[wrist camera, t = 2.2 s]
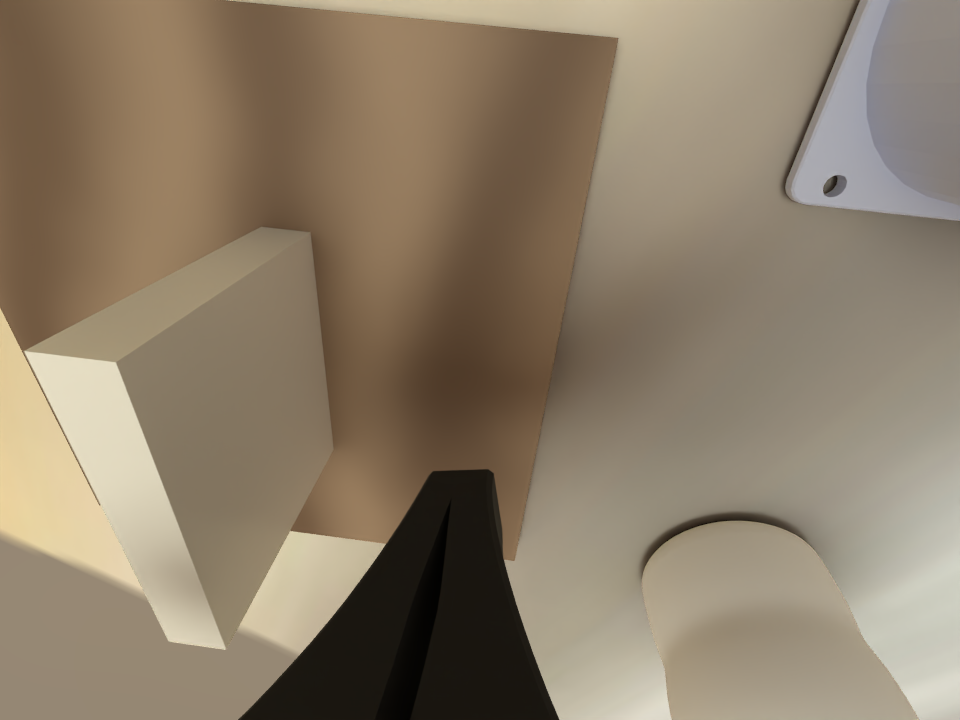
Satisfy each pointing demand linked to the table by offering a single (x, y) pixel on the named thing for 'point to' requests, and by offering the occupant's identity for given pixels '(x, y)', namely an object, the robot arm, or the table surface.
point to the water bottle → (760, 631)
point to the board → (318, 207)
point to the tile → (200, 423)
